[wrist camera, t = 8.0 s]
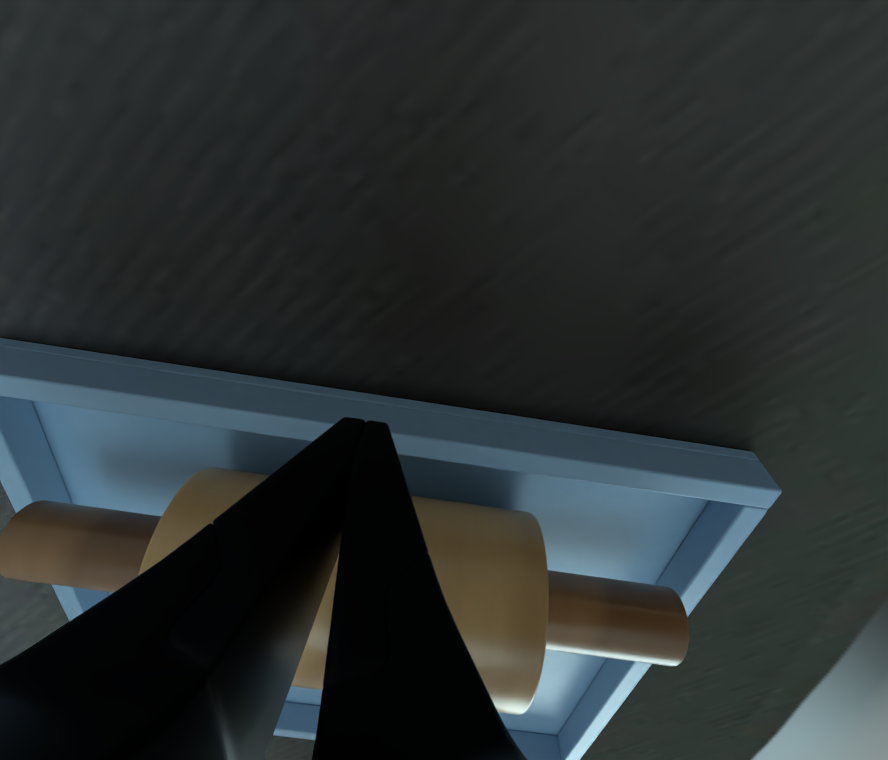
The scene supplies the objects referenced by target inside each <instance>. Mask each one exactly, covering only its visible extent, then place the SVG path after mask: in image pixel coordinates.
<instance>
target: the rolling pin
mask: <svg viewBox="0 0 888 760" xmlns="http://www.w3.org/2000/svg"><path fill="white" fill-rule="evenodd" d="M269 476H270V475H266V474H259V473H252V472H245V471H238V470H231V469H224V468H217V467H209V468H205V469H203V470H200V471H199V472H197V473H195V474H194V475H193V476H192V477H190V478H189V479H188V480H187V481H186V482H185V483H184V484H183V486H182V487H181V488H180V489H179V490H178V492H177V493H176V494H175V496H174V497H173V499H172V500H171V502H170V503H169V505H168V506H167V508H166V510H165V511H164V513H163V515H162V516H156V515H148V514H141V513H134V512H127V511H120V510H112V509H105V508H98V507H91V506H84V505H76V504H69V503H62V502H55V501H48V500H40V501H36V502H33V503H30V504H28V505H27V506H25V507H23V508H22V509H21V510H20V511H18V512H17V513H16V514H15V515H14V516H13V517H12V519H11V520H10V521H9V522H8V524H7V525H6V527H5V528H4V530H3V532H2V534H1V536H0V574H1V575H2V576H3V577H5V578H8V579H15V580H22V581H30V582H37V583H45V584H52V585H60V586H67V587H75V588H83V589H90V590H98V591H105V592H113V593H114V592H115V591H117V590H118V589H120V588H121V587H123V586H124V585H126V584H127V583H129V582H130V581H132V580H133V579H134V578H136V577H137V576H139V575H140V574H142V573H143V572H145V571H146V570H148V569H149V568H150V567H152V566H153V565H155V564H156V563H158V562H159V561H161V560H162V559H163V558H165V557H166V556H167V555H169V554H170V553H171V552H173V551H174V550H175V549H177V548H178V547H179V546H181V545H182V544H183V543H185V542H186V541H187V540H189V539H190V538H191V537H193V536H194V535H195V534H196V533H198V532H199V531H200V530H201V529H203V528H204V527H205V526H206V525H208V524H209V523H212V524H213V520H214V519H216V518H217V517H218V516H219V515H221V514H222V513H223V512H224V511H226V510H227V509H228V508H229V507H231V506H232V505H233V504H234V503H236V502H237V501H238V500H240V499H241V498H242V497H243V496H245V495H246V494H247V493H248V492H250V491H251V490H252V489H253V488H255V487H256V486H257V485H258V484H260V483H261V482H262V481H264V480H265V479H266V478H267V477H269ZM411 498H412V501H413V504H414V507H415V510H416V514H417V517H418V520H419V523H420V526H421V529H422V532H423V536H424V539H425V542H426V545H427V548H428V554H429V555H430V557H431V560H432V563H433V566H434V569H435V573H436V575H437V578H438V581H439V584H440V586H441V589H442V592H443V595H444V598H445V600H446V603H447V605H448V607H449V609H450V612H451V614H452V616H453V618H454V621H455V623H456V625H457V628H458V630H459V632H460V634H461V636H462V638H463V640H464V642H465V644H466V647H467V649H468V651H469V653H470V655H471V657H472V659H473V661H474V663H475V665H476V667H477V670H478V672H479V674H480V676H481V678H482V680H483V682H484V684H485V686H486V688H487V690H488V692H489V695H490V697H491V699H492V701H493V703H494V705H495V707H496V709H497V711H498V712H500V713H508V714H516V715H520V714H523V713H525V712H526V711H527V710H528V709H529V707H530V706H531V704H532V702H533V699H534V697H535V694H536V691H537V688H538V685H539V681H540V677H541V673H542V668H543V662H544V656H545V650H552V651H559V652H567V653H574V654H582V655H590V656H597V657H605V658H612V659H620V660H627V661H635V662H643V663H650V664H658V665H665V666H676V665H678V664H680V663H681V662H682V661H683V659H684V658H685V656H686V653H687V649H688V644H689V624H688V618H687V614H686V610H685V607H684V604H683V602H682V600H681V598H680V597H679V595H678V594H677V593H676V592H675V591H674V590H673V589H671V588H669V587H666V586H660V585H652V584H645V583H638V582H631V581H624V580H616V579H609V578H602V577H595V576H588V575H580V574H573V573H566V572H559V571H552V570H548V565H547V556H546V549H545V544H544V538H543V534H542V531H541V528H540V525H539V522H538V521H537V519H536V517H535V516H534V515H533V514H531V513H529V512H524V511H517V510H510V509H503V508H496V507H489V506H482V505H475V504H468V503H461V502H454V501H447V500H440V499H433V498H426V497H419V496H412V495H411ZM338 559H339V555H338V557H337V560H336V563H335V566H334V568H333V571H332V574H331V577H330V579H329V582H328V585H327V588H326V590H325V593H324V596H323V599H322V601H321V604H320V607H319V610H318V612H317V615H316V618H315V621H314V623H313V626H312V629H311V632H310V634H309V637H308V640H307V643H306V645H305V648H304V651H303V654H302V656H301V659H300V662H299V665H298V667H297V670H296V673H295V676H294V679H293V681H292V684H291V686H294V687H302V688H310V689H318V690H323V679H324V671H325V663H326V655H327V647H328V639H329V631H330V623H331V615H332V607H333V599H334V591H335V583H336V575H337V567H338Z"/></svg>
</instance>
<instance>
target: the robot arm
mask: <svg viewBox="0 0 888 760" xmlns="http://www.w3.org/2000/svg"><path fill="white" fill-rule="evenodd" d="M338 555H339V559H338V567H337V575H336V583H335V591H334V599H333V607H332V615H331V623H330V631H329V639H328V647H327V655H326V663H325V671H324V679H323V690H322V695H321V703H320V711H319V718H318V725H317V732H316V738H315V744H314V750H313V756H312V760H528V759H527V758H526V757H525V755H524V754H523V753H522V751H521V750H520V749H519V747H518V746H517V744H516V743H515V741H514V740H513V738H512V737H511V735H510V733H509V731H508V730H507V728H506V726H505V724H504V723H503V721H502V719H501V717H500V715H499V713H498V711H497V709H496V707H495V705H494V703H493V701H492V699H491V697H490V695H489V692H488V690H487V688H486V686H485V684H484V682H483V680H482V678H481V676H480V674H479V672H478V670H477V667H476V665H475V663H474V661H473V659H472V657H471V655H470V653H469V651H468V649H467V647H466V644H465V642H464V640H463V638H462V636H461V634H460V632H459V630H458V628H457V625H456V623H455V621H454V618H453V616H452V614H451V612H450V609H449V607H448V605H447V603H446V600H445V598H444V595H443V592H442V589H441V586H440V584H439V581H438V578H437V575H436V573H435V569H434V566H433V563H432V560H431V557H430V555H429V554H428V548H427V545H426V542H425V539H424V536H423V532H422V529H421V526H420V523H419V520H418V517H417V514H416V510H415V507H414V504H413V501H412V498H411V495H410V492H409V488H408V485H407V482H406V479H405V476H404V473H403V469H402V466H401V463H400V460H399V457H398V454H397V451H396V447H395V444H394V441H393V438H392V435H391V432H390V429H389V426H388V424H387V423H385V422H379V421H372V420H368V421H367V422H366V423H365V421H364V420H363V419H358V418H352V417H344V418H342V419H341V420H339V421H338V422H337V423H335V424H334V425H333V426H332V427H330V428H329V429H328V430H327V431H325V432H324V433H323V434H322V435H320V436H319V437H318V438H317V439H315V440H314V441H313V442H311V443H310V444H309V445H308V446H306V447H305V448H304V449H303V450H301V451H300V452H299V453H298V454H296V455H295V456H294V457H293V458H291V459H290V460H289V461H287V462H286V463H285V464H284V465H282V466H281V467H280V468H279V469H277V470H276V471H275V472H274V473H272V474H271V475H270V476H269V477H267V478H266V479H265V480H264V481H262V482H261V483H260V484H258V485H257V486H256V487H255V488H253V489H252V490H251V491H250V492H248V493H247V494H246V495H245V496H243V497H242V498H241V499H240V500H238V501H237V502H236V503H234V504H233V505H232V506H231V507H229V508H228V509H227V510H226V511H224V512H223V513H222V514H221V515H219V516H218V517H217V518H216V519H214V520H213V524H212V523H209V524H208V525H206V526H205V527H204V528H203V529H201V530H200V531H199V532H198V533H196V534H195V535H194V536H193V537H191V538H190V539H189V540H187V541H186V542H185V543H183V544H182V545H181V546H179V547H178V548H177V549H175V550H174V551H173V552H171V553H170V554H169V555H167V556H166V557H165V558H163V559H162V560H161V561H159V562H158V563H156V564H155V565H153V566H152V567H150V568H149V569H148V570H146V571H145V572H143V573H142V574H140V575H139V576H137V577H136V578H134V579H133V580H132V581H130V582H129V583H127V584H126V585H124V586H123V587H121V588H120V589H118V590H117V591H115V592H114V593H112V594H110V595H109V596H107V597H106V598H104V599H103V600H101V601H100V602H98V603H97V604H95V605H94V606H92V607H91V608H89V609H88V610H86V611H85V612H83V613H82V614H80V615H78V616H77V617H75V618H74V619H72V620H71V621H69V622H68V623H66V624H65V625H63V626H62V627H60V628H59V629H57V630H56V631H54V632H53V633H51V634H50V635H48V636H46V637H45V638H43V639H42V640H40V641H39V642H37V643H36V644H34V645H33V646H31V647H30V648H28V649H26V650H25V651H23V652H22V653H20V654H18V655H17V656H15V657H13V658H12V659H10V660H8V661H6V662H5V663H3V664H1V665H0V760H264V758H265V756H266V753H267V750H268V747H269V745H270V742H271V739H272V736H273V734H274V731H275V728H276V725H277V723H278V720H279V717H280V714H281V712H282V709H283V706H284V703H285V701H286V698H287V695H288V692H289V690H290V687H291V684H292V681H293V679H294V676H295V673H296V670H297V667H298V665H299V662H300V659H301V656H302V654H303V651H304V648H305V645H306V643H307V640H308V637H309V634H310V632H311V629H312V626H313V623H314V621H315V618H316V615H317V612H318V610H319V607H320V604H321V601H322V599H323V596H324V593H325V590H326V588H327V585H328V582H329V579H330V577H331V574H332V571H333V568H334V566H335V563H336V560H337V557H338Z"/></svg>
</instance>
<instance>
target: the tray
mask: <svg viewBox="0 0 888 760" xmlns="http://www.w3.org/2000/svg"><path fill="white" fill-rule="evenodd" d="M344 417H352V418H358V419H363V420H364V421H365V423H366V422H367V421H368V420H372V421H379V422H385V423H387V424H388V426H389V429H390V432H391V435H392V438H393V441H394V444H395V447H396V451H397V454H398V457H399V460H400V463H401V466H402V469H403V473H404V476H405V479H406V482H407V485H408V488H409V492H410V495H412V496H419V497H426V498H433V499H440V500H447V501H454V502H461V503H468V504H475V505H482V506H489V507H496V508H503V509H510V510H517V511H524V512H529V513H531V514H533V515H534V516H535V517H536V519H537V521H538V522H539V525H540V528H541V531H542V534H543V538H544V544H545V549H546V556H547V565H548V570H552V571H559V572H566V573H573V574H580V575H588V576H595V577H602V578H609V579H616V580H624V581H631V582H638V583H645V584H652V585H660V586H666V587H669V588H671V589H673V590H674V591H675V592H676V593H677V594H678V595H679V597H680V598H681V600H682V602H683V604H684V607H685V610H686V614H687V617H688V615H689V614H690V613H691V611H692V610H693V609H694V608H695V606H696V605H697V604H698V602H699V601H700V600H701V598H702V597H703V596H704V594H705V593H706V592H707V590H708V589H709V588H710V586H711V585H712V584H713V582H714V581H715V580H716V578H717V577H718V576H719V574H720V573H721V572H722V570H723V569H724V568H725V566H726V565H727V564H728V562H729V561H730V560H731V558H732V557H733V556H734V554H735V553H736V552H737V551H738V549H739V548H740V547H741V545H742V544H743V543H744V541H745V540H746V539H747V537H748V536H749V535H750V533H751V532H752V531H753V529H754V528H755V527H756V525H757V524H758V523H759V521H760V520H761V519H762V517H763V516H764V515H765V513H766V512H767V508H770V507H771V506H772V504H773V503H774V502H775V500H776V499H777V498H778V497H779V495H780V494H781V492H782V491H781V489H780V488H779V486H778V485H777V484H776V482H775V481H774V480H773V478H772V477H771V476H770V474H769V473H768V472H767V470H766V469H765V468H764V466H763V465H762V464H761V463H760V462H759V459H758V458H757V456H756V455H755V454H754V453H753V452H751V451H745V450H738V449H732V448H725V447H718V446H712V445H705V444H699V443H692V442H685V441H679V440H672V439H666V438H659V437H652V436H646V435H639V434H633V433H626V432H619V431H613V430H606V429H600V428H593V427H586V426H580V425H573V424H567V423H560V422H553V421H547V420H540V419H534V418H527V417H520V416H514V415H507V414H501V413H494V412H487V411H481V410H474V409H467V408H461V407H454V406H448V405H441V404H434V403H428V402H421V401H415V400H408V399H401V398H395V397H388V396H382V395H375V394H368V393H362V392H355V391H349V390H342V389H335V388H329V387H322V386H316V385H309V384H302V383H296V382H289V381H283V380H276V379H269V378H263V377H256V376H250V375H243V374H236V373H230V372H223V371H217V370H210V369H203V368H197V367H190V366H184V365H177V364H170V363H164V362H157V361H151V360H144V359H137V358H131V357H124V356H118V355H111V354H104V353H98V352H91V351H85V350H78V349H71V348H65V347H58V346H52V345H45V344H38V343H32V342H25V341H19V340H12V339H5V338H0V481H1V483H2V485H3V487H4V489H5V491H6V493H7V495H8V497H9V499H10V501H11V503H12V505H13V507H14V509H15V511H16V513H17V512H18V511H20V510H21V509H22V508H23V507H25V506H27V505H28V504H30V503H33V502H36V501H40V500H48V501H55V502H62V503H69V504H76V505H84V506H91V507H98V508H105V509H112V510H120V511H127V512H134V513H141V514H148V515H156V516H162V515H163V513H164V511H165V510H166V508H167V506H168V505H169V503H170V502H171V500H172V499H173V497H174V496H175V494H176V493H177V492H178V490H179V489H180V488H181V487H182V486H183V484H184V483H185V482H186V481H187V480H188V479H189V478H190V477H192V476H193V475H194V474H195V473H197V472H199V471H200V470H203V469H205V468H209V467H217V468H224V469H231V470H238V471H245V472H252V473H259V474H266V475H271V474H272V473H274V472H275V471H276V470H277V469H279V468H280V467H281V466H282V465H284V464H285V463H286V462H287V461H289V460H290V459H291V458H293V457H294V456H295V455H296V454H298V453H299V452H300V451H301V450H303V449H304V448H305V447H306V446H308V445H309V444H310V443H311V442H313V441H314V440H315V439H317V438H318V437H319V436H320V435H322V434H323V433H324V432H325V431H327V430H328V429H329V428H330V427H332V426H333V425H334V424H335V423H337V422H338V421H339V420H341V419H342V418H344ZM51 585H52V584H51ZM52 587H53V589H54V591H55V593H56V595H57V597H58V599H59V601H60V603H61V605H62V607H63V609H64V611H65V613H66V615H67V617H68V619H69V621H71V620H72V619H74V618H75V617H77V616H78V615H80V614H82V613H83V612H85V611H86V610H88V609H89V608H91V607H92V606H94V605H95V604H97V603H98V602H100V601H101V600H103V599H104V598H106V597H107V596H109V595H110V594H112V593H113V592H105V591H98V590H90V589H83V588H75V587H67V586H60V585H52ZM651 665H652V664H650V663H643V662H635V661H627V660H620V659H612V658H605V657H597V656H590V655H582V654H574V653H567V652H559V651H552V650H545V656H544V662H543V668H542V673H541V677H540V681H539V685H538V688H537V691H536V694H535V697H534V699H533V702H532V704H531V706H530V707H529V709H528V710H527V711H526V712H525V713H523V714H520V715H516V714H508V713H500V712H498V713H499V715H500V717H501V719H502V721H503V723H504V724H505V726H506V728H507V730H508V731H509V733H510V735H511V737H512V738H513V740H514V741H515V743H516V744H517V746H518V747H519V749H520V750H521V751H522V753H523V754H524V755H525V757H526V758H527V759H528V760H580V759H581V757H582V756H583V755H584V753H585V752H586V751H587V749H588V748H589V747H590V745H591V744H592V743H593V741H594V740H595V739H596V737H597V736H598V735H599V733H600V732H601V731H602V729H603V728H604V727H605V725H606V724H607V723H608V722H609V720H610V719H611V718H612V716H613V715H614V714H615V712H616V711H617V710H618V708H619V707H620V706H621V704H622V703H623V702H624V700H625V699H626V698H627V696H628V695H629V694H630V692H631V691H632V690H633V688H634V687H635V686H636V684H637V683H638V682H639V680H640V679H641V678H642V676H643V675H644V674H645V672H646V671H647V670H648V668H649V667H650V666H651ZM321 695H322V690H318V689H310V688H302V687H294V686H291V687H290V690H289V692H288V695H287V698H286V701H285V703H284V706H283V709H282V712H281V714H280V717H279V720H278V723H277V725H276V728H275V731H274V734H273V735H277V736H285V737H293V738H301V739H309V740H315V738H316V732H317V725H318V718H319V711H320V703H321Z"/></svg>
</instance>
